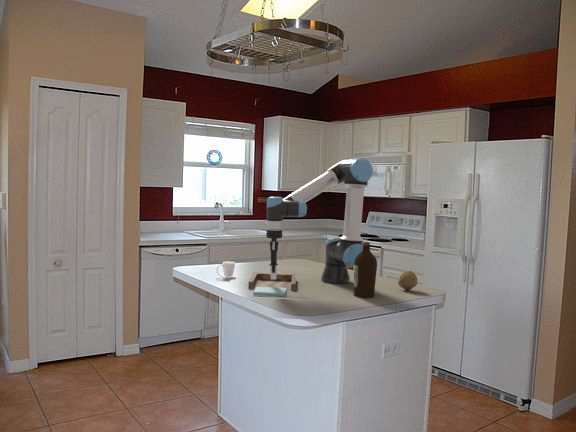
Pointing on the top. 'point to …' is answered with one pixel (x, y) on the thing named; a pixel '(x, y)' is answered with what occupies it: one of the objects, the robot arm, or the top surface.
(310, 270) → the top surface
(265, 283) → the walnut box
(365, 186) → the robot arm
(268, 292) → the cover plate
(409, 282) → the natural sponge
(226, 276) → the cup
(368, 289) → the olive oil
